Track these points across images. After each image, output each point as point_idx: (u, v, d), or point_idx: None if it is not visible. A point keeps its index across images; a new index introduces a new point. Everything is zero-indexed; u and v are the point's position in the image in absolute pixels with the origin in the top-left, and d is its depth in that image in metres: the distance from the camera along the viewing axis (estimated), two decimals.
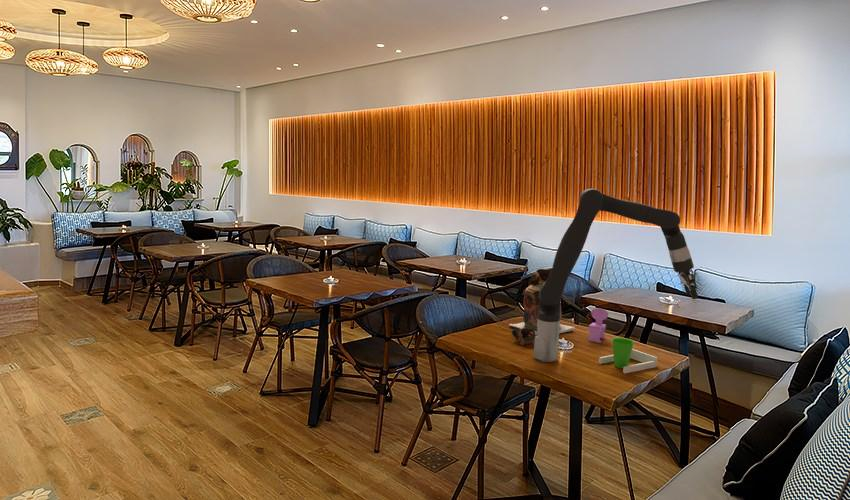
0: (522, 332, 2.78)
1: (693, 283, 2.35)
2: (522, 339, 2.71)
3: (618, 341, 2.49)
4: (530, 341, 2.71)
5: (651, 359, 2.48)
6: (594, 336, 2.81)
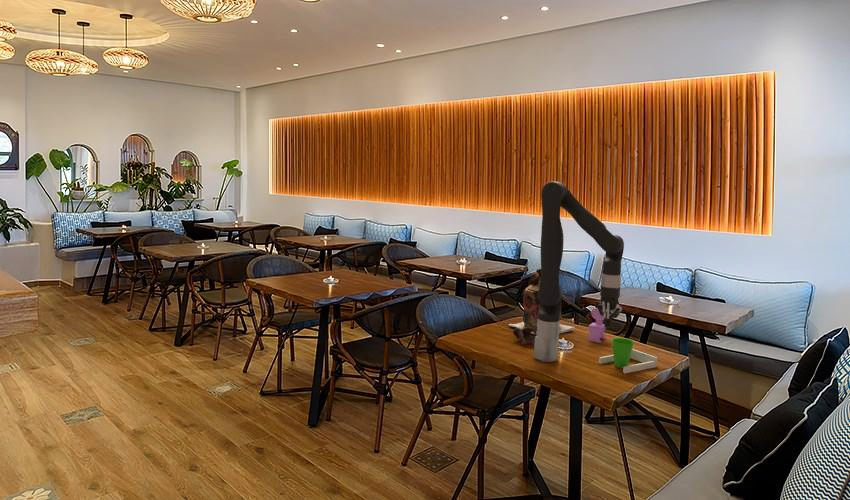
0: (523, 332, 2.79)
1: None
2: (523, 339, 2.72)
3: (618, 341, 2.49)
4: (531, 341, 2.71)
5: (651, 359, 2.48)
6: (594, 336, 2.81)
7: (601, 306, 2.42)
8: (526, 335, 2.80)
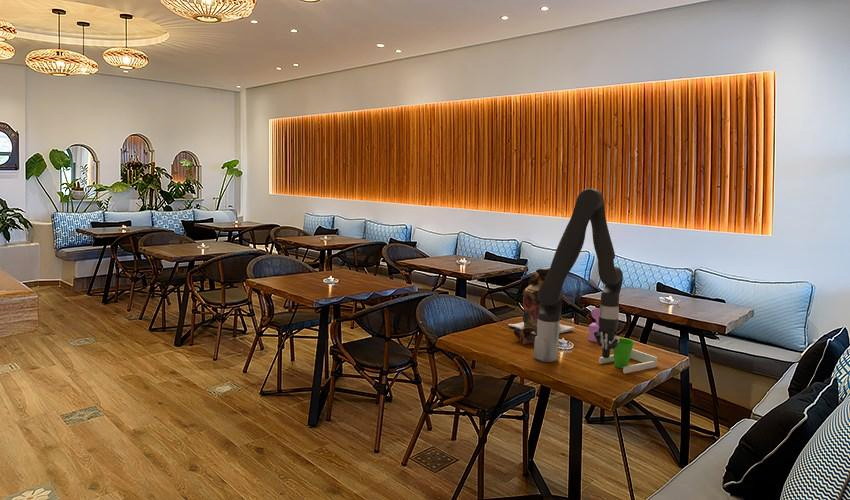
0: (524, 331, 2.79)
1: (611, 344, 2.39)
2: (524, 338, 2.72)
3: None
4: (532, 340, 2.72)
5: (651, 359, 2.48)
6: (594, 336, 2.81)
7: (599, 336, 2.44)
8: (527, 335, 2.80)
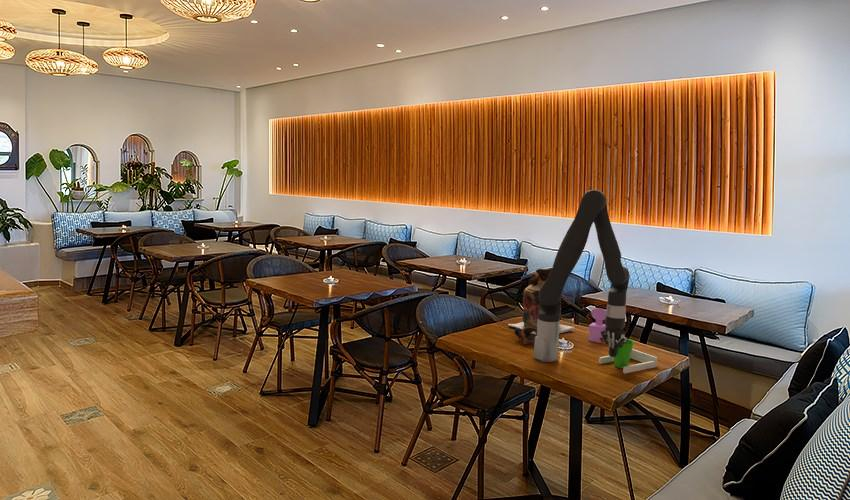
0: (524, 331, 2.80)
1: (618, 343, 2.41)
2: (525, 338, 2.73)
3: None
4: (533, 340, 2.72)
5: (651, 359, 2.48)
6: (594, 336, 2.81)
7: (606, 335, 2.46)
8: (527, 335, 2.81)
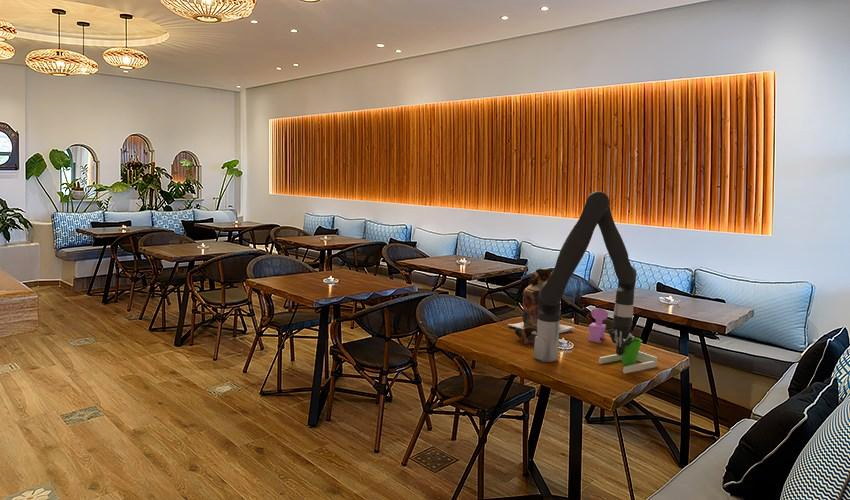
0: (525, 331, 2.80)
1: None
2: (525, 338, 2.73)
3: None
4: (533, 340, 2.72)
5: (651, 359, 2.48)
6: (594, 336, 2.81)
7: None
8: (528, 334, 2.81)
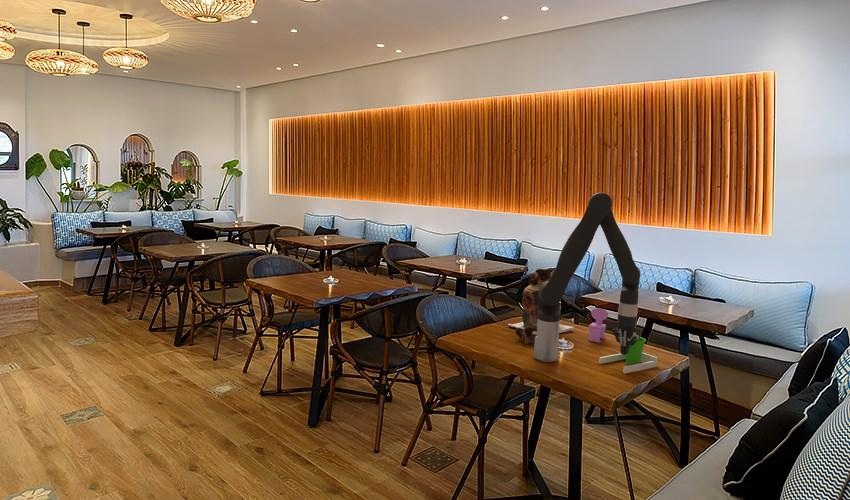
0: (526, 331, 2.80)
1: (629, 341, 2.45)
2: (526, 338, 2.73)
3: None
4: (534, 340, 2.73)
5: (651, 359, 2.48)
6: (594, 336, 2.81)
7: (618, 333, 2.49)
8: (528, 334, 2.81)
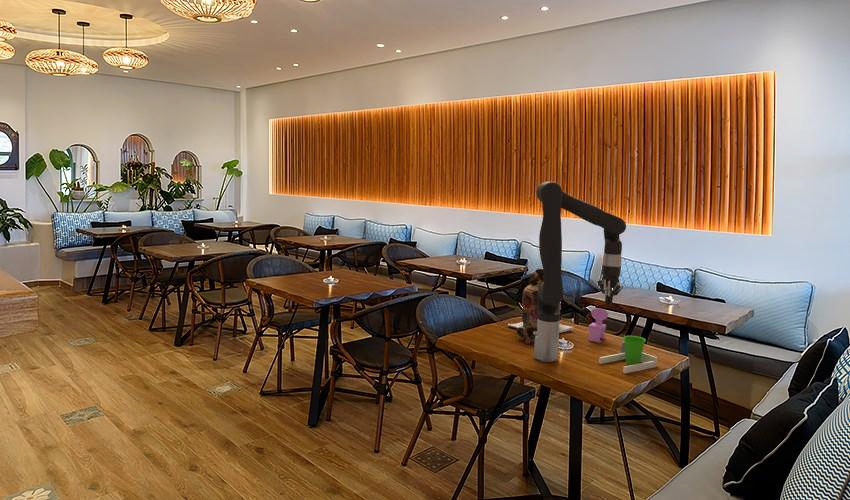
0: (527, 331, 2.81)
1: (614, 291, 2.50)
2: (527, 338, 2.74)
3: (630, 339, 2.52)
4: None
5: (651, 359, 2.48)
6: (594, 336, 2.81)
7: None
8: (529, 334, 2.82)
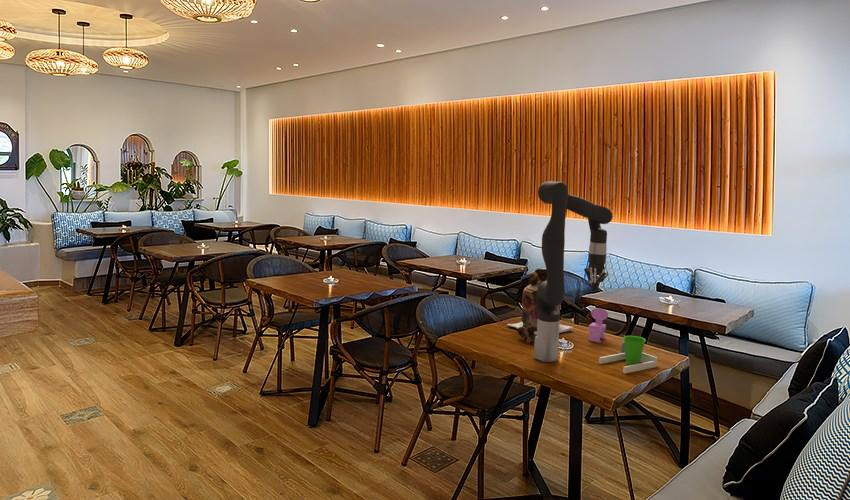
0: (528, 330, 2.81)
1: None
2: (528, 337, 2.74)
3: (630, 339, 2.52)
4: None
5: (651, 359, 2.48)
6: (594, 336, 2.81)
7: None
8: (530, 334, 2.82)
